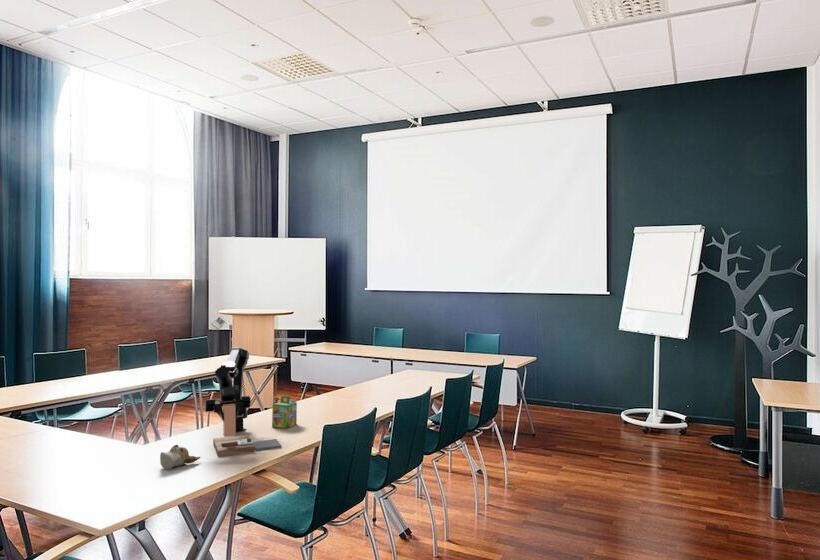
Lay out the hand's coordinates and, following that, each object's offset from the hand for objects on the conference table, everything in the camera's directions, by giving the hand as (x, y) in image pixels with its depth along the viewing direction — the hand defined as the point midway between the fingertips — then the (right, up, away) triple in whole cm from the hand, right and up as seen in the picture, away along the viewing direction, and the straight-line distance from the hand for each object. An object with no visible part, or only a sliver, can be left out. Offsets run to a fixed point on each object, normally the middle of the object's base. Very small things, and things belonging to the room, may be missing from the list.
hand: (229, 420), depth 246 cm
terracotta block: (0, -7, +1) cm, 7 cm away
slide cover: (+5, -11, +4) cm, 12 cm away
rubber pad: (+14, -13, +8) cm, 20 cm away
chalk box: (+14, -13, +42) cm, 46 cm away
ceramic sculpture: (-15, -14, -18) cm, 27 cm away
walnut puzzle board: (0, -13, +5) cm, 14 cm away
